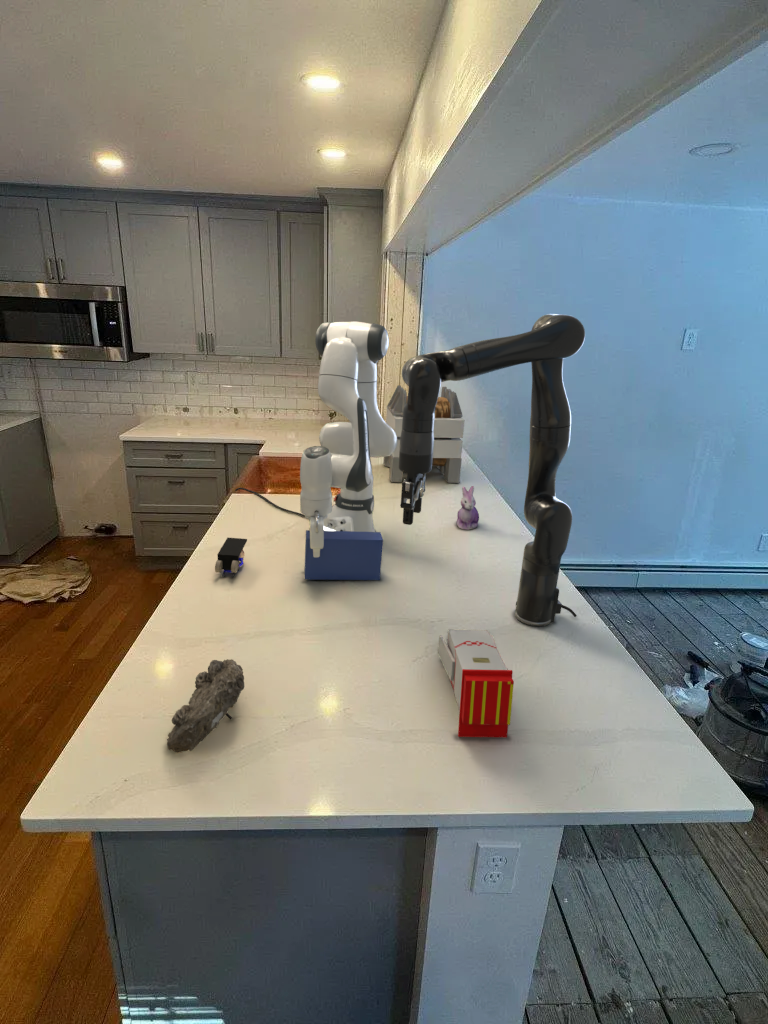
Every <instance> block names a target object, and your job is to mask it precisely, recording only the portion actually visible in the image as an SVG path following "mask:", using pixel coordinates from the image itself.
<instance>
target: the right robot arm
mask: <svg viewBox="0 0 768 1024" xmlns="http://www.w3.org/2000/svg"><path fill="white" fill-rule="evenodd" d="M585 338H586V330H585V327H584V324H583V323H582V322H581V320H579V319H578V318H577V317H576V316H575V317H574V316H573V315H569V314H561V313H560V314H558V313H546V314H544V315H542V316H540V317H538V319H536V321H535V322H534V324H533V325H532V327H531V330H530V331H526V332H523V333H519V334H515V335H509V336H503V337H502V336H501V337H496V338H489V339H483V340H478V341H473V342H470V343H467V344H463V345H459V346H455V347H452V348H449V349H446V350H441V351H440V350H439V351H434V352H429V353H423V354H418V355H416V356H413V357H411V358H409V359H408V360H406V361H405V363H404V364H403V365H402V368H401V377H402V380H403V382H404V384H405V385H406V386H407V387H408V390H407V391H408V392H407V396H408V399H407V404H405V406H404V409H403V416H402V432H401V437H400V450H399V469H400V470H401V471H402V472H403V473H405V474H406V478H404V480H402V482H401V495H400V508H401V509H402V511H403V512H402V524H403V525H406V526H407V525H408V526H411V525H413V524H414V513H415V514H421V512H422V502H423V497H424V494H425V492H426V477H427V474H428V473H431V472H432V470H433V466H432V461H433V447H434V431H433V430H434V418H435V407H436V404H437V400H438V397H440V396H439V395H440V393H441V392H440V390H441V385H442V383H445V382H447V381H450V382H451V381H453V382H458V381H459V382H460V381H464V380H468V379H471V378H475V377H479V376H481V375H487V374H489V373H493V372H495V371H500V370H503V369H507V368H511V367H514V366H518V365H523V364H528V363H531V397H530V402H531V403H530V419H529V451H528V475H527V483H526V489H525V497H524V503H523V504H524V505H523V515H524V519H525V521H526V522H527V524H528V525H529V526H530V527H532V528H533V529H534V530H535V533H534V539H533V541H529V542H527V543H525V545H524V548H523V555H522V561H521V562H522V563H521V570H520V577H519V585H518V591H517V598H516V602H515V610H514V617H515V619H517V620H518V621H519V622H521V623H522V624H524V625H527V626H532V627H546V626H548V625H550V624H552V623H555V620H556V615H561V611H562V609H564V610H566V611H568V612H569V613H570V614H571V615H572V616H573V617H574V618H576V617H578V616H577V613H576V612H575V611H574V610H573V609H572V608H571V607H569V606H566V605H565V604H564V605H563V604H562V602H561V601H560V600H559V595H560V589H559V588H558V580H559V575H560V568H561V563H562V556H563V555H564V554H565V551H566V550H567V547H568V543H569V538H570V534H571V529H572V525H573V512H572V509H571V507H570V506H569V505H568V504H567V503H566V502H564V501H563V500H561V499H559V498H558V497H557V496H556V482H557V481H556V479H557V473H558V470H559V467H560V466H561V463H562V462H563V460H564V458H565V457H566V454H567V453H568V450H569V447H570V443H571V433H572V432H571V431H572V429H571V428H572V413H571V407H570V403H569V399H568V396H567V391H566V388H565V384H564V378H563V377H564V376H563V369H564V359H567V358H570V357H573V356H574V355H576V354H577V353H578V352H579V351H580V349H581V348H582V347H583V345H584V342H585V340H586V339H585ZM408 500H409V503H408V502H407V501H408Z"/></svg>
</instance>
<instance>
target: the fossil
mask: <svg viewBox="0 0 768 1024" xmlns="http://www.w3.org/2000/svg"><path fill="white" fill-rule="evenodd" d="M243 670H244V669H243V667H242V665H240V664H237V662H236V661H235V660H234V659H232V658H231V659H227V658H226V659H224V660H223V661H222V660H217V659H212V660H211V661H210V663H209V665H208V666H207V671H201V672H199V673H198V674H197V675H196V676H195V680H194V684H195V685H194V687H195V689H194V690H193V693H192V694H191V697H190V698H189V700H188V704H184V705H182V706H181V707H180V709H177V710H176V711H175V713H174V715H173V716H172V718H171V723H172V724H173V727H172V730H171V731H170V732H168V734H167V738H166V741H167V742H166V745H167V749H168V750H169V751H173V752H174V753H176V754H178V753H182V752H188V751H189V752H192V751H193V750H195V748H196V747H197V746H199V744H200V743H201V742H203V741H204V740H205V739H206V738H207V737H208V736H209V735H210V734H211V733H212V732H214V730H215V729H217V727H218V726H219V724H220V722H221V721H222V720H223V719H224V718H225V716H226V717H227V719H229V720H233V717H232V715H230V714H229V710H230V709H231V708H234V706H235V704H236V703H237V702H238V699H239V697H240V695H241V693H242V691H243V690H245V689H244V688H245V675H244V671H243Z"/></svg>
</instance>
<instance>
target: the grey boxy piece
mask: <svg viewBox="0 0 768 1024" xmlns="http://www.w3.org/2000/svg"><path fill="white" fill-rule="evenodd" d="M440 393H441V394H440V396H438V400H437V404H436V407H435V418H434V430H433V431H434V447H433V461H432V467H436V468H437V470H438V469H439V473H440V474H441V475H443V478H444V479H445V481H446V482H447V483H449V484H455V483H456V484H459V483H461V472H462V461H463V460H462V453H463V442H464V441H463V440H462V439H463V438H464V431H465V430H464V429H465V419H464V418H463V411H462V408H461V405H460V402H459V398H458V395H457V392H455V391H453V390H452V389H451V388H447V386H442V387H441V392H440ZM407 399H408V392H407V390H406V389H404V388H403V387H402V385H399V384H398V385H397V386H396V388H395V390H394V392H393V394H392V395H391V398H390V400H389V402H388V404H387V405H386V413H385V414H386V415H385V422H386V423H387V424H388V425H389V426H390V427H391V428H392V429H393V430H394V431H395V433H396V436H397V446H396V449H395V451H394V452H393V453H392V454H391V455H390V456H386V457H383V466H384V467H388V468H389V475H388V476H389V477H388V478H389V480H390V482H391V483H402V482H403V475H404V472H402V471H401V470H400V469H399V450H400V437H401V432H402V416H403V409H404V406H405V404H407Z"/></svg>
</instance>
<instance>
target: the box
mask: <svg viewBox="0 0 768 1024" xmlns="http://www.w3.org/2000/svg"><path fill="white" fill-rule="evenodd" d="M304 544H305V546H304V566H303V567H304V568H303V569H304V570H303V571H304V572H303V573H304V574H303V575H304V580H319V581H321V580H323V581H325V580H326V581H327V580H329V581H380V580H381V572H382V570H381V569H382V559H383V549H384V548H383V547H384V538H383V536H382V533H381V531H375V532H355V531H324V547H323V549H320V557H313V549H311V548H310V530H309V529H306V530H305V543H304Z"/></svg>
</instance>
